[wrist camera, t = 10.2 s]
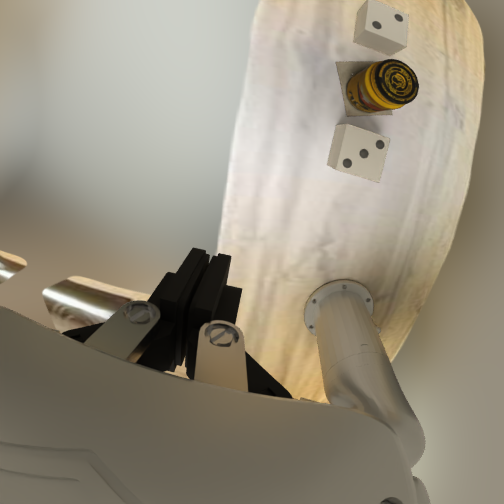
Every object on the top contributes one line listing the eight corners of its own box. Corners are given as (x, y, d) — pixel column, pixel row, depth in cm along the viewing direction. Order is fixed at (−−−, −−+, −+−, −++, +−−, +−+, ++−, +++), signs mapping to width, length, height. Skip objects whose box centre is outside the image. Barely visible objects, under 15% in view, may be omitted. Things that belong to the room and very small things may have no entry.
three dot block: (374, 137, 34) (390, 139, 29) (365, 175, 37) (379, 183, 31) (336, 125, 34) (346, 123, 29) (326, 164, 37) (335, 169, 31)
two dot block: (393, 27, 26) (409, 15, 20) (390, 56, 28) (407, 47, 23) (357, 13, 26) (368, -3, 20) (352, 42, 28) (365, 29, 23)
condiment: (346, 116, 33) (376, 110, 23) (335, 62, 30) (359, 36, 19) (391, 115, 32) (433, 111, 22) (381, 62, 29) (418, 41, 18)
